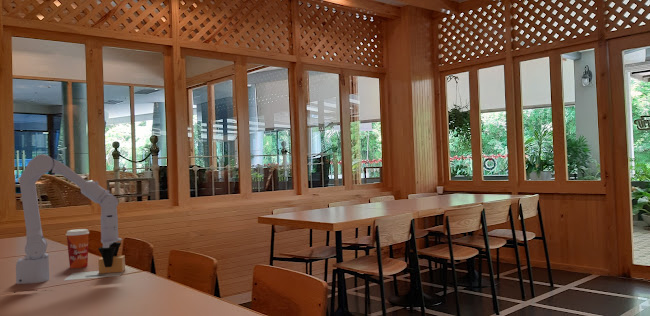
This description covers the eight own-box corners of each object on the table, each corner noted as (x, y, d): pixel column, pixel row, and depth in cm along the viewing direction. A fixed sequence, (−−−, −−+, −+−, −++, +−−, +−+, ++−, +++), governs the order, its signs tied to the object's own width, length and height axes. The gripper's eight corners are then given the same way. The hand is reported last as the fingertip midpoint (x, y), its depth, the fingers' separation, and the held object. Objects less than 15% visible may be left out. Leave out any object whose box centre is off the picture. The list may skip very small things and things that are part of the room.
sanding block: (98, 273, 181) (98, 259, 181) (102, 270, 186) (101, 257, 186) (122, 271, 183) (122, 257, 183) (125, 269, 188) (124, 255, 188)
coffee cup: (70, 272, 190) (69, 232, 191) (64, 269, 197) (63, 230, 197) (93, 268, 196) (92, 229, 196) (87, 265, 202) (86, 228, 202)
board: (63, 283, 173) (63, 280, 173) (73, 275, 185) (73, 272, 185) (119, 278, 177) (119, 275, 177) (125, 271, 188) (125, 268, 188)
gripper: (117, 229, 178) (118, 267, 178) (124, 224, 193) (125, 260, 193) (95, 230, 177) (97, 269, 177) (104, 225, 191) (106, 261, 191)
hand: (110, 264), depth 185 cm, fingers open, 7 cm apart
